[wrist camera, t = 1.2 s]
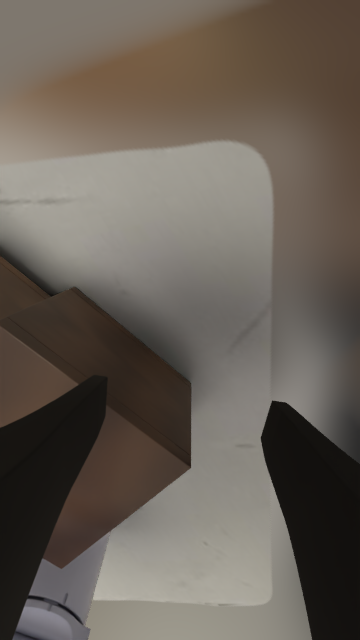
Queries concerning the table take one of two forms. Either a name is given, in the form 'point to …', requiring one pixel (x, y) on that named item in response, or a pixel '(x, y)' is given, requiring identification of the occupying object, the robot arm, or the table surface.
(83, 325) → the cabinet
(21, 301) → the drawer
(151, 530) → the table surface
